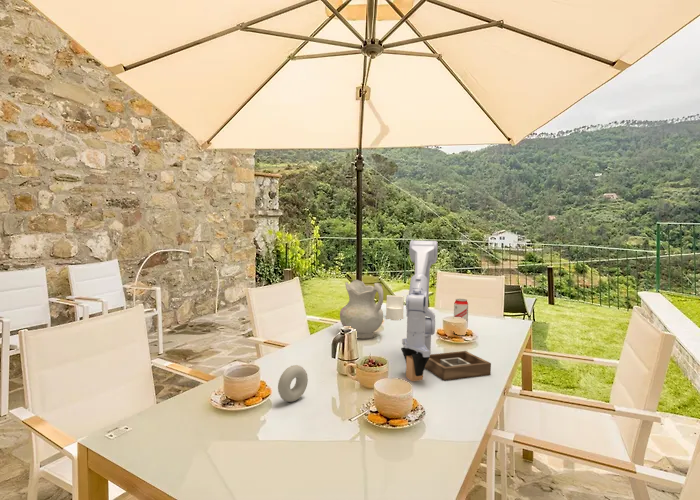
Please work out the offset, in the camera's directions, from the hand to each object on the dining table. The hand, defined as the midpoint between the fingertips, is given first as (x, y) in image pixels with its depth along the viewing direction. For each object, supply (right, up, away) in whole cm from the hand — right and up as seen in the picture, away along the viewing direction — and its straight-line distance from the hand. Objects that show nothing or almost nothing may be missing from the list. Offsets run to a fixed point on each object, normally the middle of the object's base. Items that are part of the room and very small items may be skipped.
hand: (414, 372), depth 134 cm
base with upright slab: (+3, +3, +85) cm, 85 cm away
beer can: (+30, +1, +56) cm, 63 cm away
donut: (-37, -3, -19) cm, 41 cm away
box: (+15, -2, +8) cm, 17 cm away
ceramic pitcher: (-15, +1, +50) cm, 52 cm away
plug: (0, -2, 0) cm, 2 cm away
